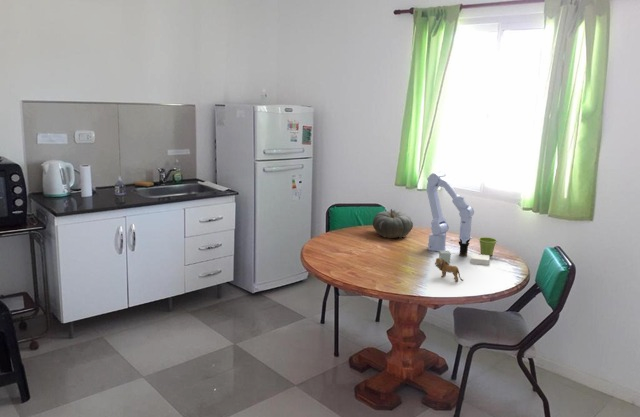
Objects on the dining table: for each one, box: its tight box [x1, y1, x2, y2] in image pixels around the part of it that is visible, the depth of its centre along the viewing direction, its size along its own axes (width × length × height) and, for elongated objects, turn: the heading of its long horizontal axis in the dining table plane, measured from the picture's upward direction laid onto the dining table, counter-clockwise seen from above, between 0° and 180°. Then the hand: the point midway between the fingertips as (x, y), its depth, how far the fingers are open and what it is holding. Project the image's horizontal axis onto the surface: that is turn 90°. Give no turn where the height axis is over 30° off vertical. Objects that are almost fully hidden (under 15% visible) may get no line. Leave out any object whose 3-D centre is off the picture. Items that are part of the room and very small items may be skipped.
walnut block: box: [459, 246, 469, 258], centre depth 272 cm, size 4×4×5 cm
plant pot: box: [478, 236, 498, 257], centre depth 273 cm, size 9×9×9 cm
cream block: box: [470, 253, 490, 266], centre depth 262 cm, size 9×9×3 cm
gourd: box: [372, 208, 414, 239], centre depth 308 cm, size 25×25×17 cm
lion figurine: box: [434, 257, 464, 283], centre depth 235 cm, size 15×5×9 cm, turn 51°
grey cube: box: [438, 250, 452, 264], centre depth 262 cm, size 5×5×5 cm
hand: (463, 252), depth 272 cm, fingers open, 6 cm apart
